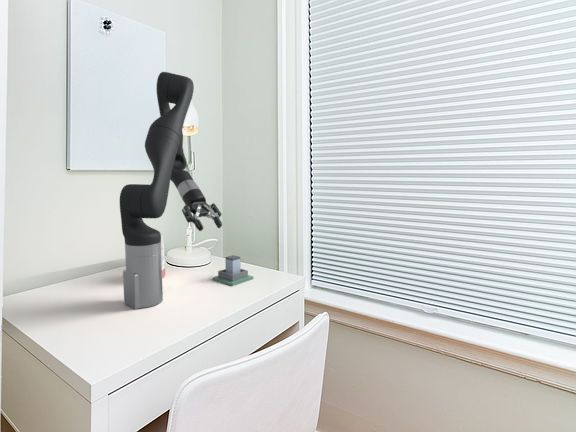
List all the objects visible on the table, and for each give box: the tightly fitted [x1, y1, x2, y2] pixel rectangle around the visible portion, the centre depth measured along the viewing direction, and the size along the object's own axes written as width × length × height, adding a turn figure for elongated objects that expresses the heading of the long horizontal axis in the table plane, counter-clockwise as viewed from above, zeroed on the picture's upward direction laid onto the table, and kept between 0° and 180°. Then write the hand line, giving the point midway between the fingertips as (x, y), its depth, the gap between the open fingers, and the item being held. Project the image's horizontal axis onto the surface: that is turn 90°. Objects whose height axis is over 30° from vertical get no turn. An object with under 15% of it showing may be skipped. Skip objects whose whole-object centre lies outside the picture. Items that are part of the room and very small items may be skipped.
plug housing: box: [225, 254, 241, 275], centre depth 115 cm, size 4×4×7 cm
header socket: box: [211, 268, 254, 287], centre depth 115 cm, size 10×10×3 cm
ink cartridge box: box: [161, 235, 166, 279], centre depth 112 cm, size 9×5×15 cm, turn 179°
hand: (211, 228), depth 120 cm, fingers open, 8 cm apart
